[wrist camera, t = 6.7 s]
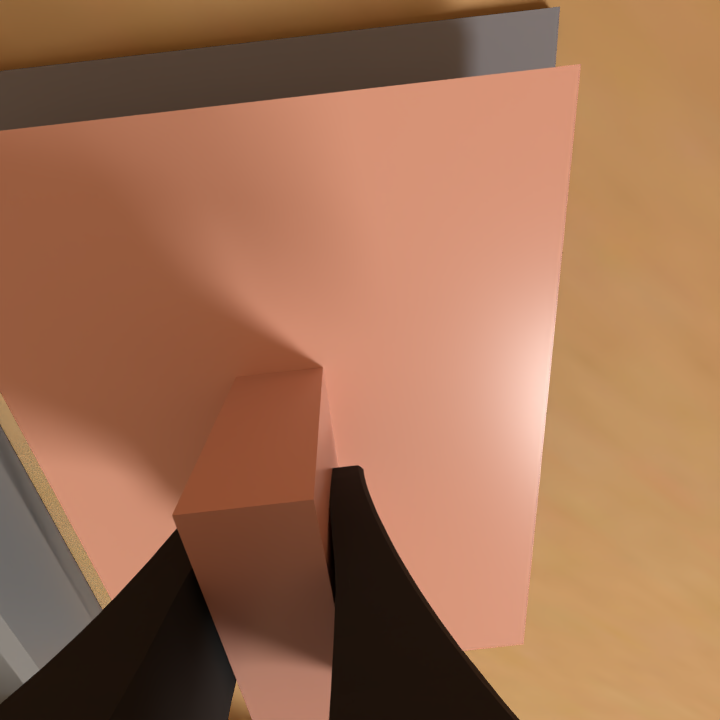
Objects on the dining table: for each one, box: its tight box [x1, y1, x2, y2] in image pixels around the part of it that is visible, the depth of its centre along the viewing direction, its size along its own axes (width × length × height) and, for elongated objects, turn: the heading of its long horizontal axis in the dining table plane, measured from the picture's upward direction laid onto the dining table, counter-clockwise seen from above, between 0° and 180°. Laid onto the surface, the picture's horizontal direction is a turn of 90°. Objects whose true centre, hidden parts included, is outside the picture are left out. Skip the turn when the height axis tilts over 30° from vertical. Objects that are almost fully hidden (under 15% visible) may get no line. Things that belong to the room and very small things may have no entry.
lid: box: [0, 64, 581, 720], centre depth 10 cm, size 17×13×6 cm
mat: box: [0, 7, 560, 131], centre depth 13 cm, size 19×15×1 cm
